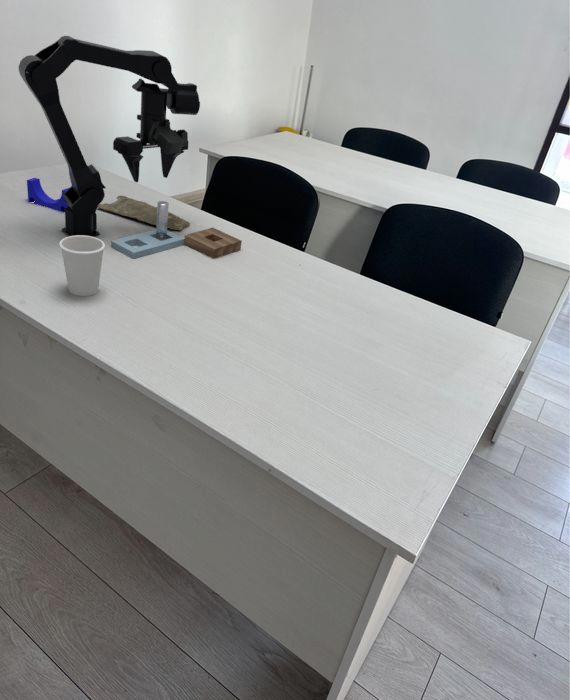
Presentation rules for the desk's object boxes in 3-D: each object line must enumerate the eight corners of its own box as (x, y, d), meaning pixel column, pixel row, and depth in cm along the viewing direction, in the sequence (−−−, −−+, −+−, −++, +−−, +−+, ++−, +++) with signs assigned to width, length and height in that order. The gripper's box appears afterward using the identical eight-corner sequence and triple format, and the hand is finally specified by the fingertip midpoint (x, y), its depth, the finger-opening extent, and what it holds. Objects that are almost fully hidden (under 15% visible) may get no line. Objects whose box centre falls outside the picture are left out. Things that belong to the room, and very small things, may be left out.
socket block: (213, 258, 140) (214, 249, 139) (184, 244, 145) (184, 234, 143) (240, 249, 147) (241, 240, 146) (211, 236, 152) (212, 227, 151)
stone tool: (94, 210, 155) (175, 236, 149) (93, 200, 154) (176, 226, 148) (118, 201, 164) (196, 225, 158) (118, 191, 163) (197, 215, 157)
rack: (133, 258, 133) (133, 252, 132) (111, 246, 137) (111, 240, 136) (184, 244, 145) (184, 238, 144) (162, 233, 148) (162, 228, 147)
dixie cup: (59, 281, 119) (57, 235, 113) (101, 279, 122) (101, 234, 117) (63, 300, 112) (61, 252, 107) (108, 298, 116) (108, 251, 111)
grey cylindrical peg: (160, 245, 142) (162, 205, 137) (153, 241, 143) (155, 202, 138) (168, 242, 144) (170, 203, 139) (161, 239, 145) (163, 200, 140)
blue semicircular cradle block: (78, 209, 153) (77, 187, 150) (67, 214, 150) (66, 191, 147) (39, 198, 156) (38, 176, 153) (28, 202, 152) (26, 180, 149)
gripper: (145, 123, 124) (142, 195, 132) (206, 119, 137) (201, 184, 145) (111, 110, 129) (111, 180, 137) (174, 108, 142) (170, 171, 150)
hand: (150, 179), depth 142 cm, fingers open, 9 cm apart
